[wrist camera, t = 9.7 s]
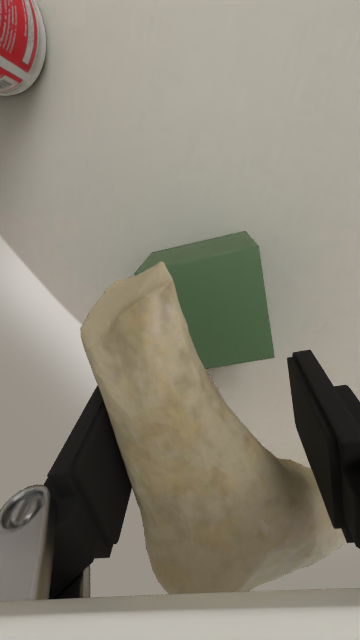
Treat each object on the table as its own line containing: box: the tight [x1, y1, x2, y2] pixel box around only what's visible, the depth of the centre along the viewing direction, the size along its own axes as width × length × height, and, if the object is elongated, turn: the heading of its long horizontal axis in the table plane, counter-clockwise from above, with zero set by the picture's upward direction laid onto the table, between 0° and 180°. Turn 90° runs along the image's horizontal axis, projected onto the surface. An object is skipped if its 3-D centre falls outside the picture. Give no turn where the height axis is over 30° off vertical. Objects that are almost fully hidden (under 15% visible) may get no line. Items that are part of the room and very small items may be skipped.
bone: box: [81, 261, 346, 594], centre depth 10 cm, size 11×6×5 cm, turn 37°
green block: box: [135, 231, 274, 369], centre depth 21 cm, size 7×7×6 cm
